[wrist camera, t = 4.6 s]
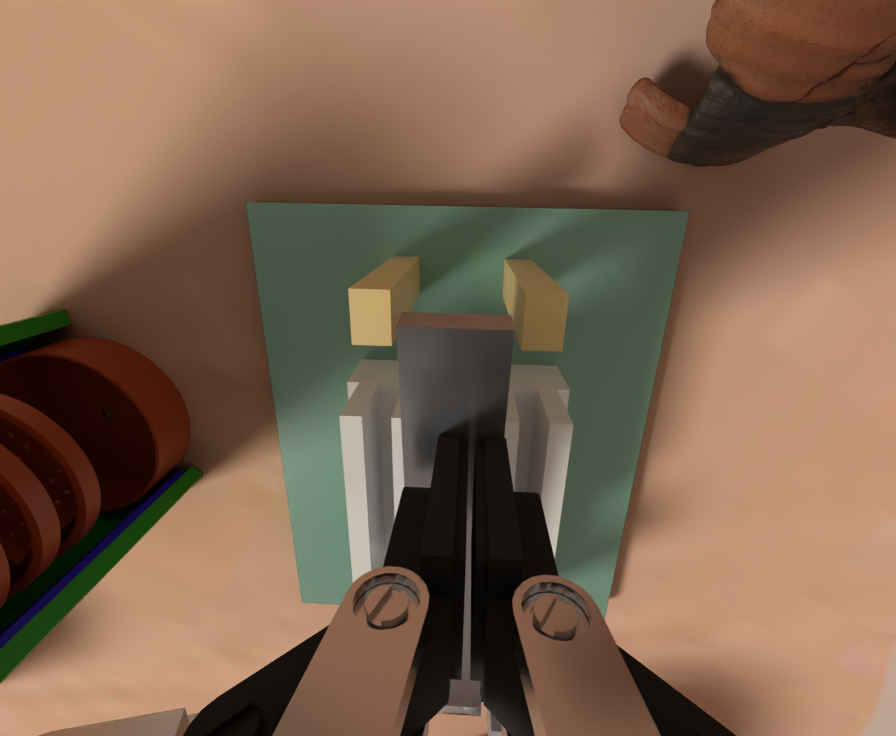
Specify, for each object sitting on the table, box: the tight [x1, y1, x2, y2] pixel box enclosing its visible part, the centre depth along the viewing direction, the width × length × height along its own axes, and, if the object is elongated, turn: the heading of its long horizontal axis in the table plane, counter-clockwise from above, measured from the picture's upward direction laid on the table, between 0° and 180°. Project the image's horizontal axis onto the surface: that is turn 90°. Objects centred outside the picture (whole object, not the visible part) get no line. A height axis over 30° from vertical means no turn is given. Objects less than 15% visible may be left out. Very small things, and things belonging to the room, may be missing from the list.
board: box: [246, 202, 690, 736], centre depth 16 cm, size 20×16×8 cm
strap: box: [396, 312, 515, 716], centre depth 13 cm, size 16×3×1 cm, turn 178°
